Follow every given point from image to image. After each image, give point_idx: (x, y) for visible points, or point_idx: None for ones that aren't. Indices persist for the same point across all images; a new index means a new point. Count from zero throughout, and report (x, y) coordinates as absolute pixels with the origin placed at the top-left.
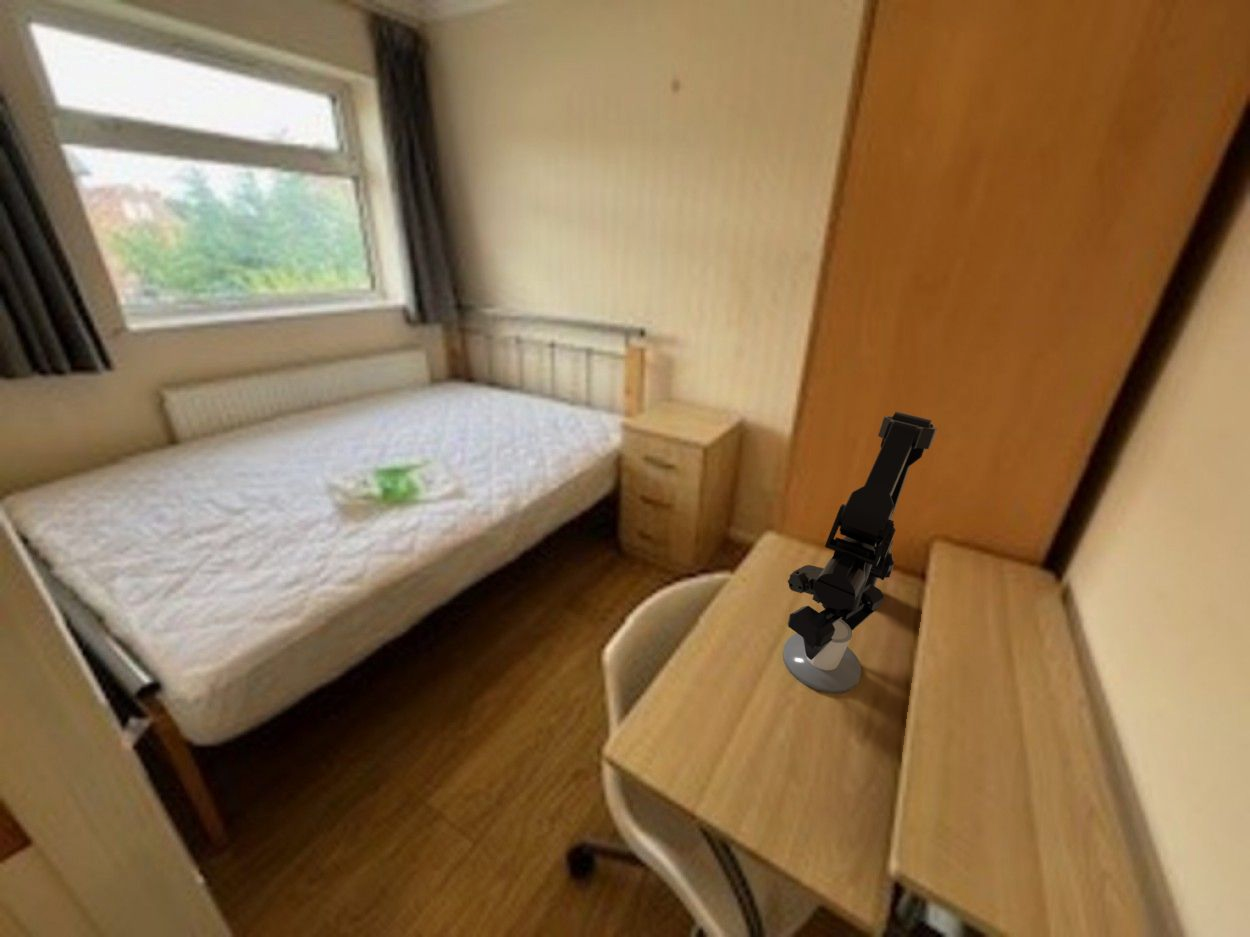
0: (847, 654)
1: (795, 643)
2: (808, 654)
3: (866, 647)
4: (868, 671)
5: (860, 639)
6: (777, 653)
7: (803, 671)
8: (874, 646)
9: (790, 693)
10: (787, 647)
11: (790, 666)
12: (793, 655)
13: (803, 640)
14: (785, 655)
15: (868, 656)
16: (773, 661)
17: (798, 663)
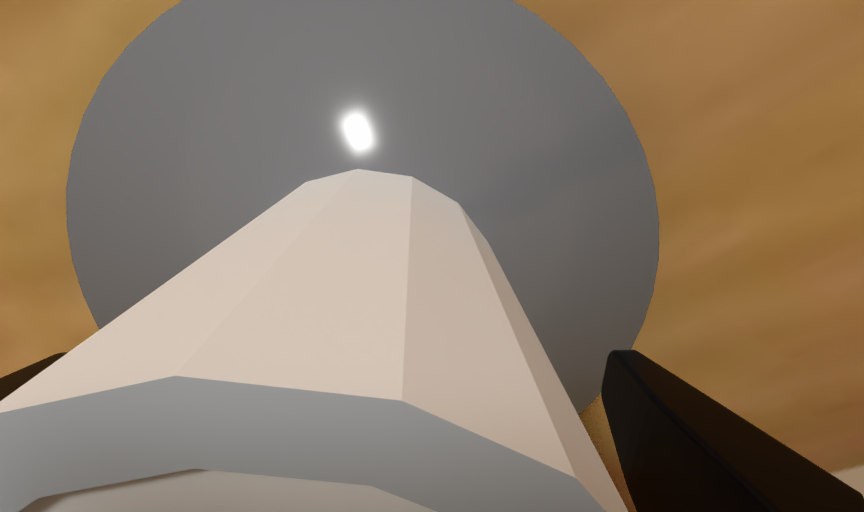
0: (565, 360)
1: (291, 60)
2: None
3: (768, 342)
4: None
5: (825, 285)
6: (123, 7)
7: (135, 296)
8: (814, 362)
9: (2, 310)
10: (176, 50)
11: (71, 210)
12: (168, 151)
13: (395, 80)
14: (89, 111)
15: (692, 384)
16: (32, 55)
17: (151, 229)
